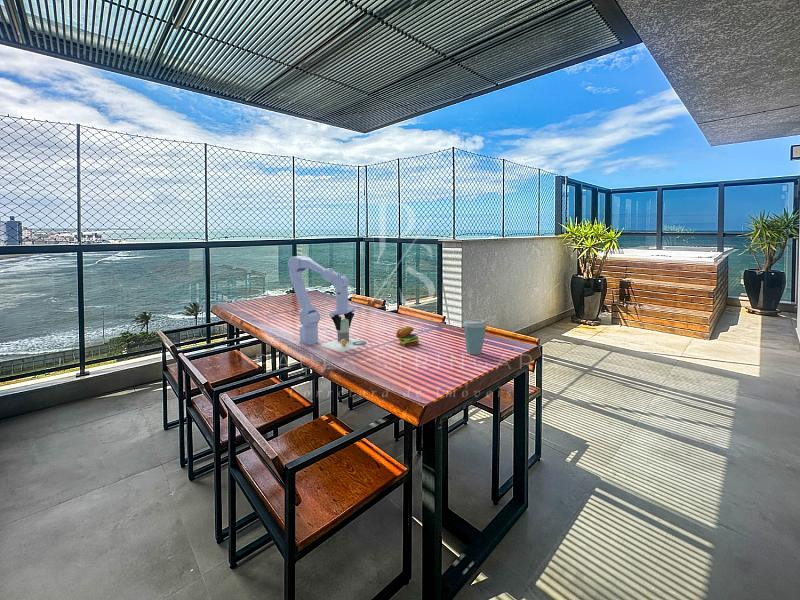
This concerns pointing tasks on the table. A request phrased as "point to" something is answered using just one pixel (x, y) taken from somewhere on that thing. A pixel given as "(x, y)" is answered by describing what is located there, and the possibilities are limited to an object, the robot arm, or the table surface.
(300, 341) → the robot arm
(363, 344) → the coaster
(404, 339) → the cheeseburger
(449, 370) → the table surface
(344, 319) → the green acorn nut
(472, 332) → the disposable coffee cup
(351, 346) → the mat
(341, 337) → the grey acorn nut
